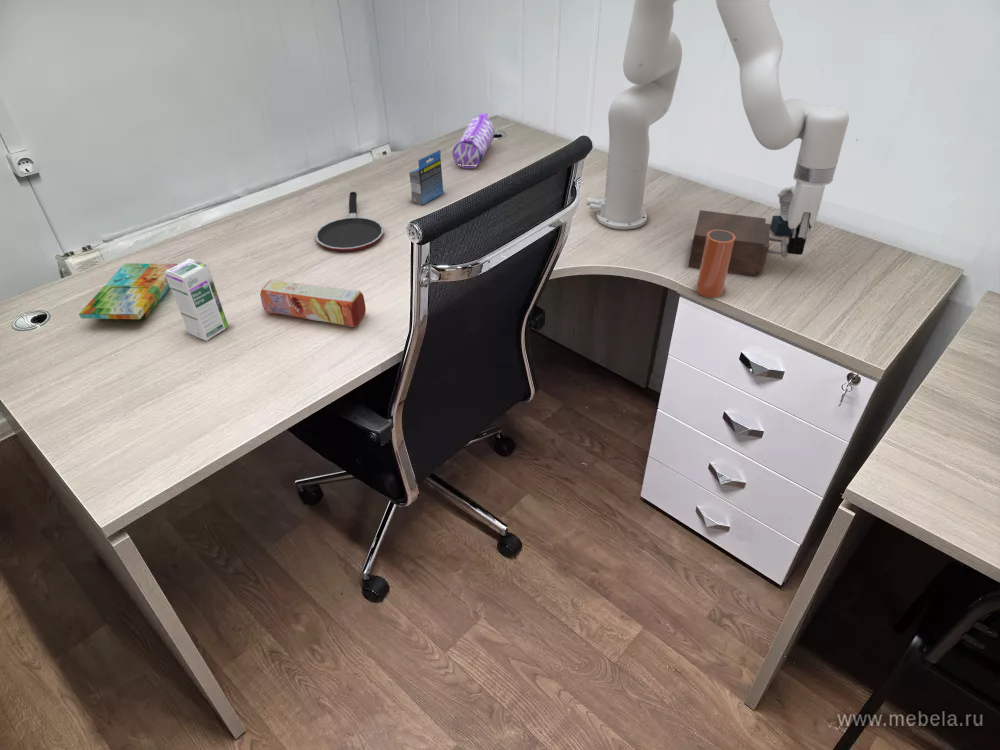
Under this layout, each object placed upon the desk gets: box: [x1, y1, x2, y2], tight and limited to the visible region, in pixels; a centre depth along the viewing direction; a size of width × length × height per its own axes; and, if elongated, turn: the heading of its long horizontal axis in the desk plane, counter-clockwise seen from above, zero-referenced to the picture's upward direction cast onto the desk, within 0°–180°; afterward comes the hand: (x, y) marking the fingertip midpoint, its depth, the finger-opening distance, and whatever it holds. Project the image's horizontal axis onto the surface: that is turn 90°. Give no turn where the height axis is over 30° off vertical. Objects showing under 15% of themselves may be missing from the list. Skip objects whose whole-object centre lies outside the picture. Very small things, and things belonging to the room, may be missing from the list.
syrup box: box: [164, 258, 230, 342], centre depth 131 cm, size 6×6×14 cm
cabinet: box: [687, 209, 767, 278], centre depth 153 cm, size 15×13×8 cm
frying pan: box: [314, 191, 384, 252], centre depth 169 cm, size 28×16×3 cm, turn 8°
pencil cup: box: [695, 230, 735, 299], centre depth 141 cm, size 6×6×13 cm
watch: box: [770, 185, 795, 237], centre depth 162 cm, size 6×8×11 cm
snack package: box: [259, 279, 367, 328], centre depth 137 cm, size 21×7×7 cm, turn 73°
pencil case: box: [452, 112, 495, 170], centre depth 202 cm, size 22×9×10 cm, turn 171°
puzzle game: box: [78, 262, 179, 320], centre depth 142 cm, size 12×5×20 cm
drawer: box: [757, 222, 789, 274], centre depth 152 cm, size 18×11×6 cm, turn 72°
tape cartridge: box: [408, 149, 444, 206], centre depth 179 cm, size 9×4×12 cm, turn 144°
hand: (794, 252), depth 149 cm, fingers closed
